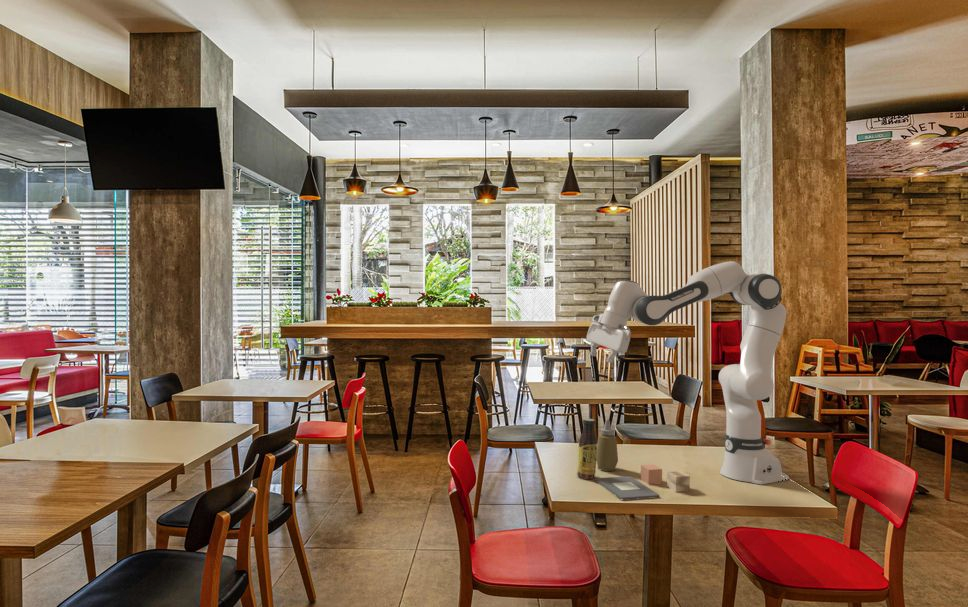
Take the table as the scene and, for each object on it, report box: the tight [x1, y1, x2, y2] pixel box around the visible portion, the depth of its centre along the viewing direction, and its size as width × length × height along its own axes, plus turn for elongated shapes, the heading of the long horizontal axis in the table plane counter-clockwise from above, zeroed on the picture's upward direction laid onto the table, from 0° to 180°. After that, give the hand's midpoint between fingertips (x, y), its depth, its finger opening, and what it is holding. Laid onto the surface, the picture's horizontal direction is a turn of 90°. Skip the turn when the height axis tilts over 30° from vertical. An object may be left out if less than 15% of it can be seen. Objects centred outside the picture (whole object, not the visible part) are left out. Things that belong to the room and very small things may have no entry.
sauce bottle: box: [576, 418, 598, 480], centre depth 181 cm, size 6×6×20 cm
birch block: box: [666, 470, 691, 493], centre depth 171 cm, size 5×5×5 cm
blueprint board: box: [595, 475, 660, 500], centre depth 170 cm, size 13×18×1 cm
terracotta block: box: [640, 464, 663, 485], centre depth 178 cm, size 5×5×5 cm
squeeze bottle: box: [596, 418, 619, 472], centre depth 190 cm, size 8×8×18 cm
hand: (600, 358), depth 187 cm, fingers open, 8 cm apart
